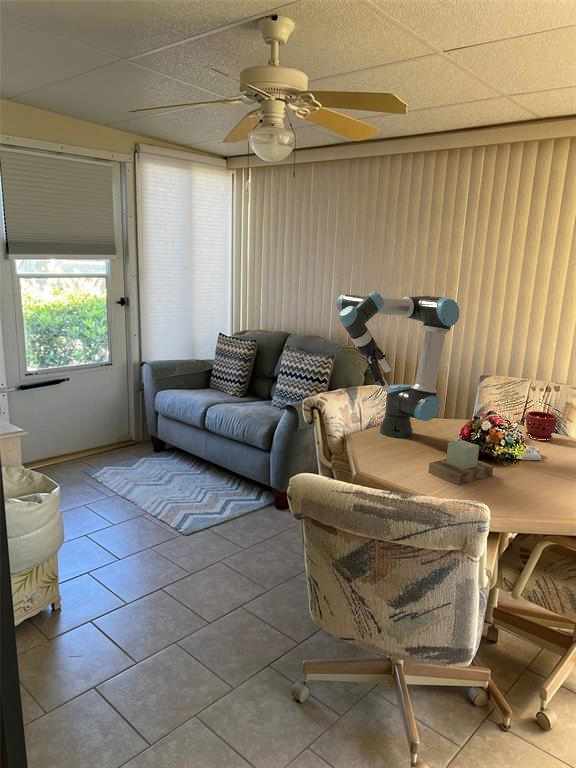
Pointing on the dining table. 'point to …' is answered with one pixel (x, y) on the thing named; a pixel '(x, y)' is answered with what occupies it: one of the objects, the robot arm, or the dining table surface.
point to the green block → (462, 454)
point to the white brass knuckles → (532, 453)
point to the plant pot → (540, 424)
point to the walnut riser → (460, 472)
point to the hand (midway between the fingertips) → (387, 380)
